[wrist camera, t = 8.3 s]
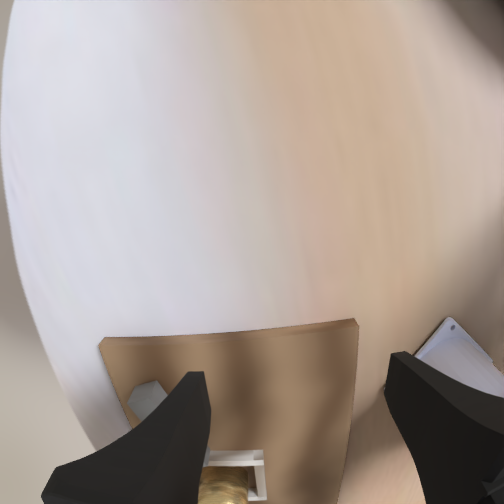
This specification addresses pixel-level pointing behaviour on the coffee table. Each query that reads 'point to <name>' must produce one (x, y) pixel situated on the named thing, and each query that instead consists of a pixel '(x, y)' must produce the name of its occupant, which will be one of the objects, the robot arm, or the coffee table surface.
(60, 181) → the coffee table surface
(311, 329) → the tan wooden flat board
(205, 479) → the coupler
